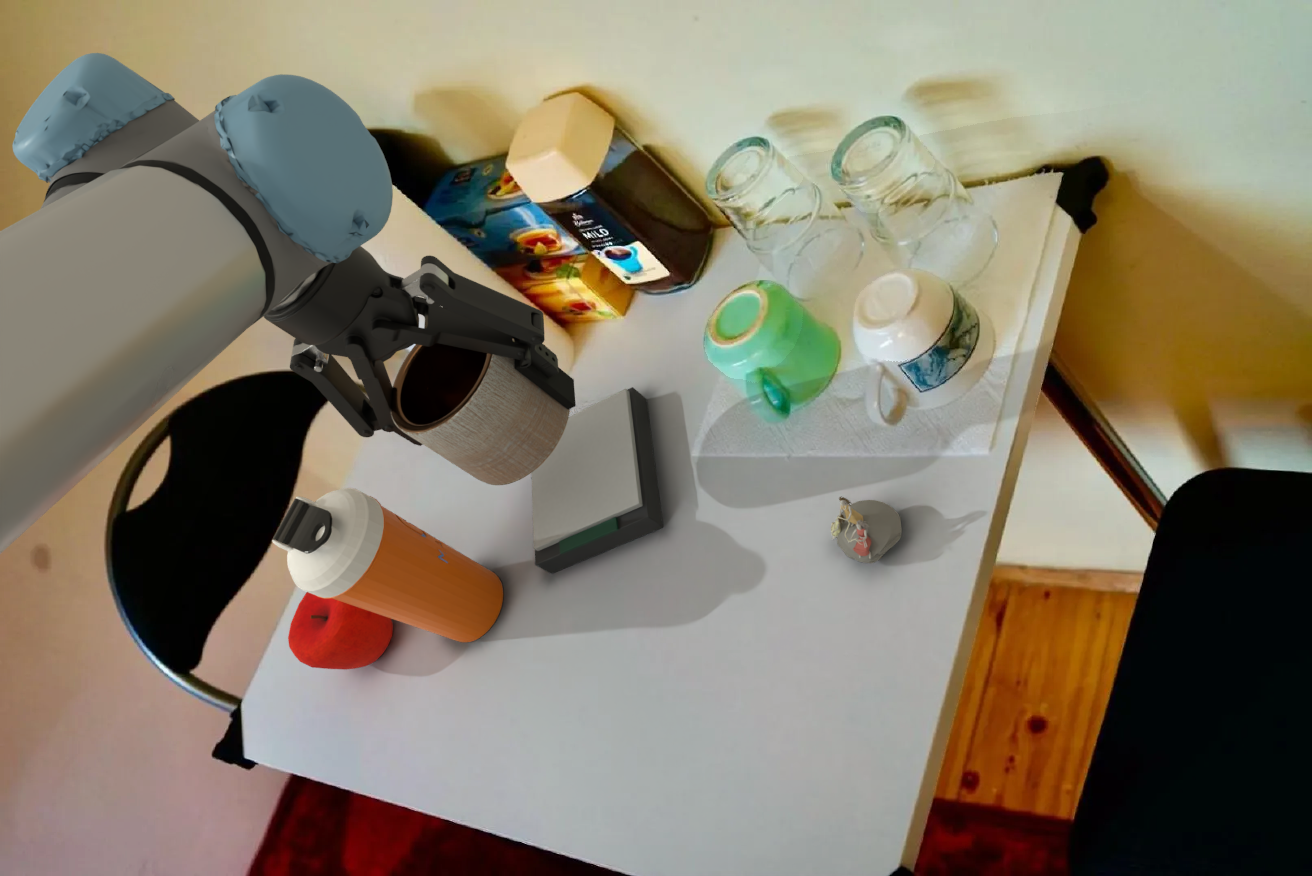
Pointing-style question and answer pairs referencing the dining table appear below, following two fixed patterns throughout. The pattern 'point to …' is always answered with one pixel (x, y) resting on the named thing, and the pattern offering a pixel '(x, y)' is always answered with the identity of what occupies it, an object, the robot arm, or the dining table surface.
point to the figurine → (866, 529)
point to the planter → (476, 412)
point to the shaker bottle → (386, 566)
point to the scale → (596, 484)
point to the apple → (337, 634)
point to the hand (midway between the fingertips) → (514, 423)
